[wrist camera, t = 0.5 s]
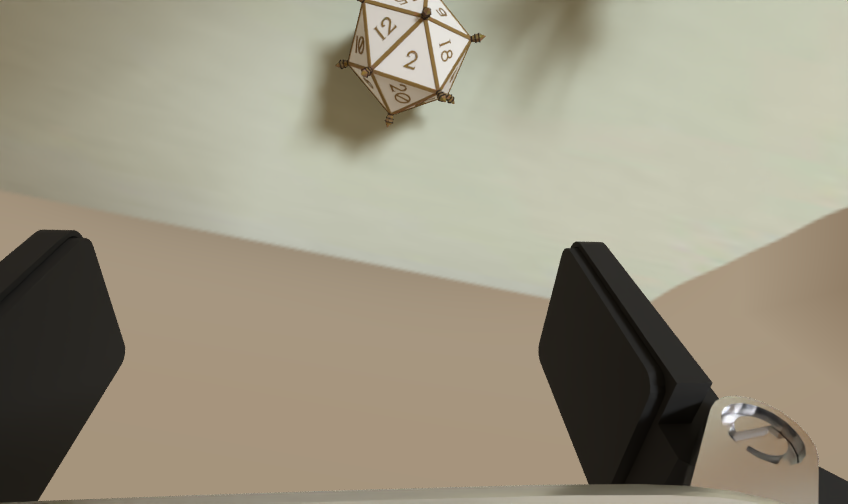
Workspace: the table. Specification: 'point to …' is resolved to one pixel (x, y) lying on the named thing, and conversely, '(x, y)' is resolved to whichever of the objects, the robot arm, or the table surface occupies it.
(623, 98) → the table surface
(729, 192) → the table surface
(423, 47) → the game die
